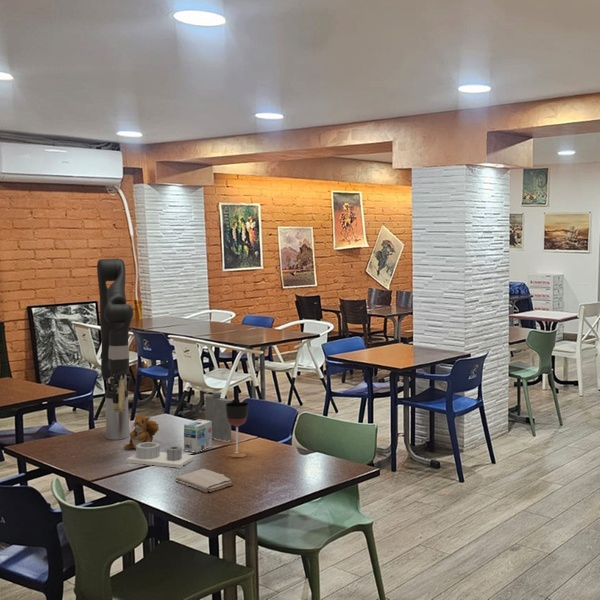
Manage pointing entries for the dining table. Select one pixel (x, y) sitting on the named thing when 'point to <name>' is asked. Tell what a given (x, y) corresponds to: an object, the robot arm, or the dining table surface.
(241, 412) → the wineglass
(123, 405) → the brass cylinder
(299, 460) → the dining table surface
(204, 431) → the light bulb box
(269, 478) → the dining table surface
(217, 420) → the grey upright flat block
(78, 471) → the dining table surface
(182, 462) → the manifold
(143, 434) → the stuffed squirrel
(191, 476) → the washcloth
